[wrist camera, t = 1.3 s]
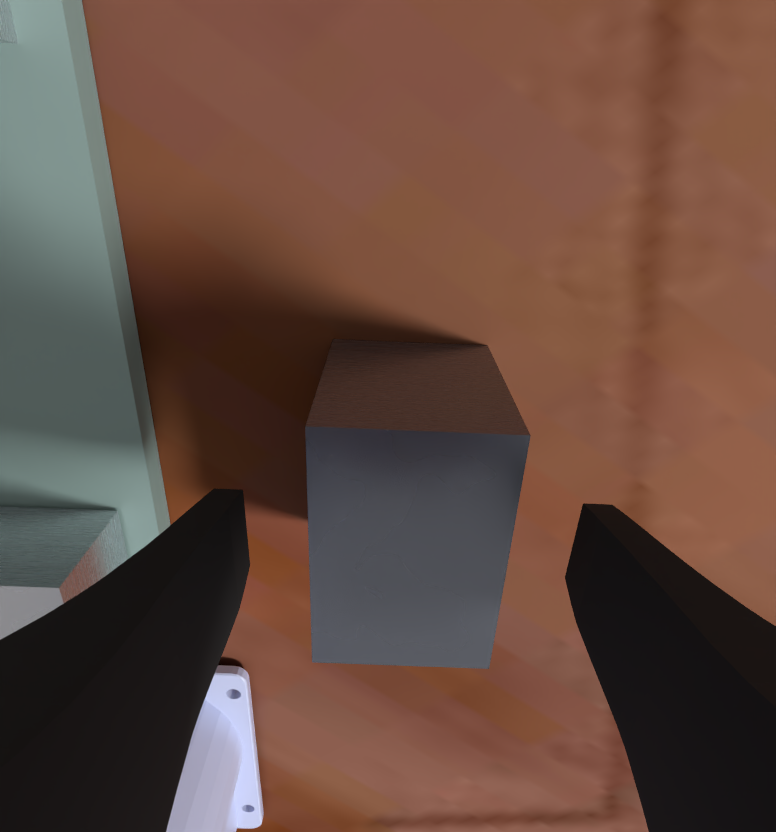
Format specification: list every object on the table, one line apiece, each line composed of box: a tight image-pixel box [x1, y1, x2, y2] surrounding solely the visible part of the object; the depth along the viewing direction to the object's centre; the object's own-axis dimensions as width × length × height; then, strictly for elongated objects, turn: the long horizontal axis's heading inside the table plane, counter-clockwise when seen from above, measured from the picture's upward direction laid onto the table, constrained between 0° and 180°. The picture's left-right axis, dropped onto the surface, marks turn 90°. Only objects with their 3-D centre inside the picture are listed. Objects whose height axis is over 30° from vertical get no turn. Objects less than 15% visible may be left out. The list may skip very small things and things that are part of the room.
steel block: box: [305, 339, 530, 669], centre depth 13 cm, size 6×4×5 cm, turn 178°
